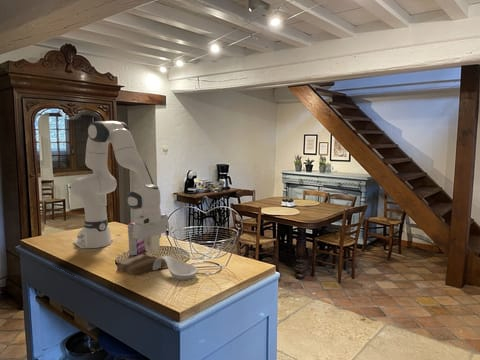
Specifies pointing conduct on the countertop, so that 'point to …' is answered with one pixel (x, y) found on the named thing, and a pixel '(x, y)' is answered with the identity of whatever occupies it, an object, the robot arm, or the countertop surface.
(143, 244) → the candy bar box
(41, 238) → the countertop surface
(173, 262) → the spoon rest
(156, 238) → the cream box
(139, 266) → the walnut block
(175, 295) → the countertop surface
